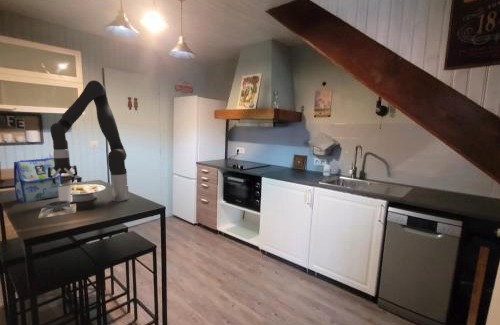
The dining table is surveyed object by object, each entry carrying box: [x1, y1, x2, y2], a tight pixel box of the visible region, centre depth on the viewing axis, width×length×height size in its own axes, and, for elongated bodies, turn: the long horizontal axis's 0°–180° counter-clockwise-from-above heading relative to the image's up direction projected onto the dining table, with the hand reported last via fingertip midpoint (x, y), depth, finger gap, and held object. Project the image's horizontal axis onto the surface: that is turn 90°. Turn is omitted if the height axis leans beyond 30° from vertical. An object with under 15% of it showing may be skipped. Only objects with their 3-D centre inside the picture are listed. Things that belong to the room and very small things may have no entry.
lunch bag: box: [13, 157, 64, 204], centre depth 165 cm, size 22×17×26 cm
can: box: [58, 183, 73, 203], centre depth 155 cm, size 6×6×12 cm
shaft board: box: [37, 203, 77, 219], centre depth 141 cm, size 16×18×2 cm
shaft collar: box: [42, 200, 72, 216], centre depth 141 cm, size 12×17×3 cm
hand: (63, 183), depth 154 cm, fingers open, 8 cm apart
